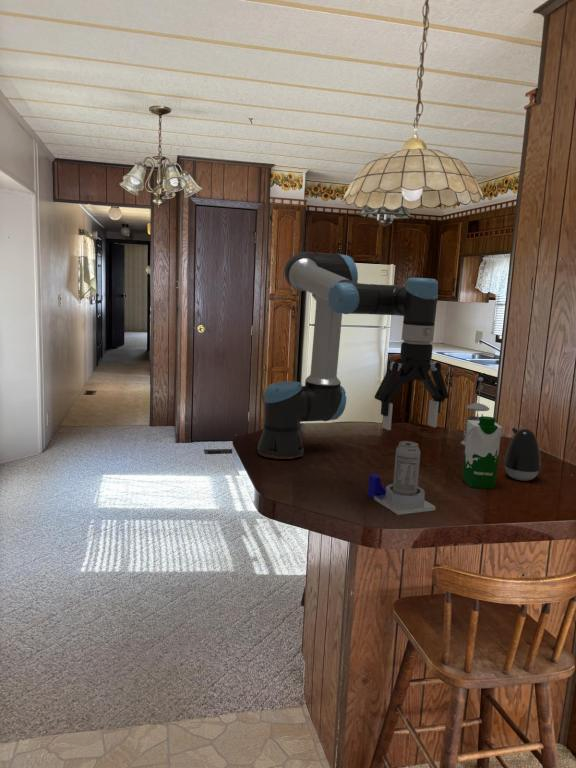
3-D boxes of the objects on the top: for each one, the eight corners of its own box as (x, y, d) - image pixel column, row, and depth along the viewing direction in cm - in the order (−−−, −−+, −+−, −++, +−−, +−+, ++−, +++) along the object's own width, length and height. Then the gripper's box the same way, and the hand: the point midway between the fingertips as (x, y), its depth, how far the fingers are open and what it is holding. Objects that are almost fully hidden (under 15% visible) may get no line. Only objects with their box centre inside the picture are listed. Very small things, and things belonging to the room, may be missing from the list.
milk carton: (467, 488, 161) (474, 418, 158) (458, 478, 170) (465, 412, 167) (498, 490, 161) (506, 420, 158) (488, 479, 170) (495, 413, 167)
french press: (485, 441, 216) (492, 376, 213) (492, 449, 205) (499, 380, 201) (458, 439, 218) (464, 374, 214) (463, 447, 206) (470, 378, 203)
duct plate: (374, 499, 149) (375, 484, 148) (409, 495, 153) (410, 480, 153) (398, 514, 139) (399, 499, 138) (435, 510, 143) (436, 494, 143)
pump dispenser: (520, 471, 180) (526, 424, 178) (546, 482, 170) (552, 432, 168) (494, 474, 176) (499, 425, 174) (519, 484, 167) (525, 433, 164)
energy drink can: (418, 499, 147) (423, 442, 145) (412, 506, 142) (417, 448, 140) (395, 495, 150) (400, 439, 148) (388, 501, 145) (393, 444, 142)
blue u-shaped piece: (402, 490, 158) (404, 469, 157) (412, 495, 154) (414, 474, 153) (364, 494, 153) (366, 472, 152) (373, 500, 149) (375, 478, 148)
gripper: (381, 343, 131) (374, 433, 135) (468, 344, 141) (459, 428, 145) (364, 340, 138) (358, 426, 142) (448, 341, 148) (440, 421, 152)
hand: (409, 427), depth 143 cm, fingers open, 13 cm apart
